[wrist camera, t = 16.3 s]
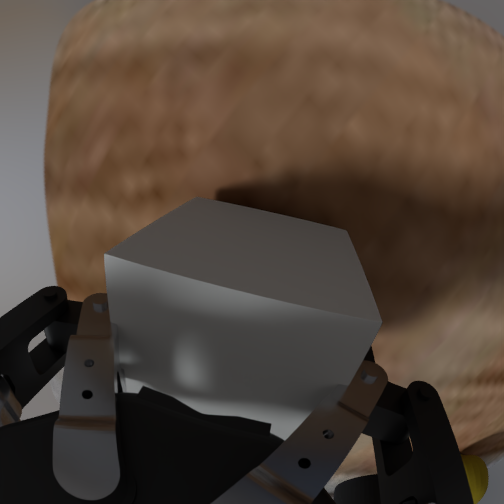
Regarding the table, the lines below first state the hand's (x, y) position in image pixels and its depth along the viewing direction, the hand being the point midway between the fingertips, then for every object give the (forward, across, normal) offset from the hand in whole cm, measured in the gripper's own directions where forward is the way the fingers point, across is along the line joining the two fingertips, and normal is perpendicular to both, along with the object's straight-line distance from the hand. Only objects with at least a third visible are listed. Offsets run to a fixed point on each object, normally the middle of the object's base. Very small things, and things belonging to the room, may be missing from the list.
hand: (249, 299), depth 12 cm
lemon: (+3, -26, +17) cm, 31 cm away
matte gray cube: (+2, 0, 0) cm, 2 cm away
